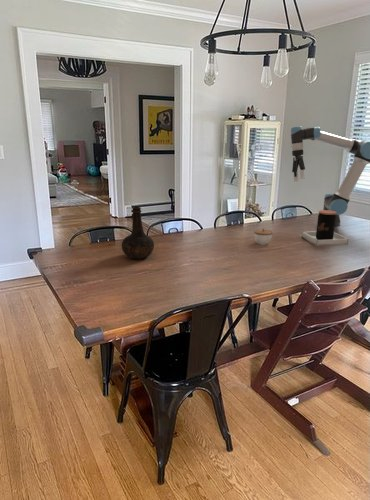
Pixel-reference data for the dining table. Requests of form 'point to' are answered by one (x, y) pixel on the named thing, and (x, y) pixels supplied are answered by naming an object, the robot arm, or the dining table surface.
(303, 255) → the dining table surface
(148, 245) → the glass bottle
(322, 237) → the coffee jar
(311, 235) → the tray
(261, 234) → the lidded jar
